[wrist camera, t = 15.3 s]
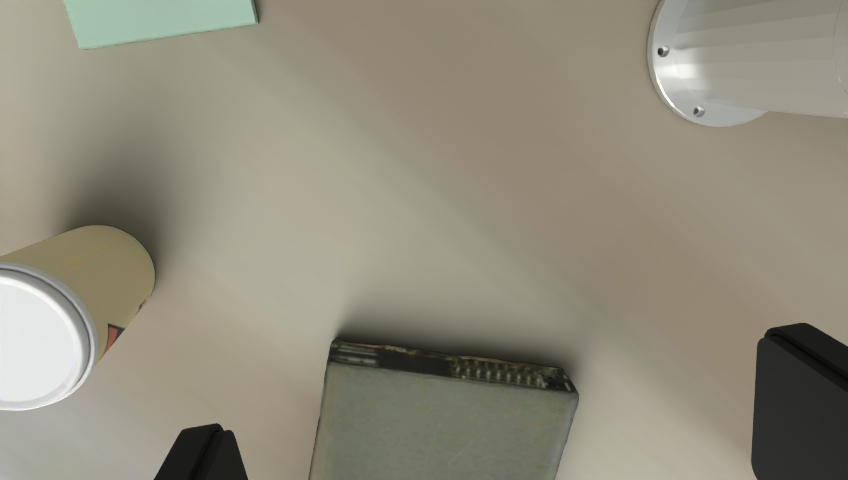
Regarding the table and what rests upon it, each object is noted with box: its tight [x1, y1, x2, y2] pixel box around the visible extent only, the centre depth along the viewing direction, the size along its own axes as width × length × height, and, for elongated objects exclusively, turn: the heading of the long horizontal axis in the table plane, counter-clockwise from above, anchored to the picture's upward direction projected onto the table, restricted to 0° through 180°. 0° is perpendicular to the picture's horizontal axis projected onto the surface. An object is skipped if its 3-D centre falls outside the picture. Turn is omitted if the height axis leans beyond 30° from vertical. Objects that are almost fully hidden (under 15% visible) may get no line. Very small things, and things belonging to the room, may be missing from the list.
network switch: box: [309, 338, 579, 480], centre depth 47 cm, size 23×24×5 cm
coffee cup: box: [0, 225, 155, 410], centre depth 36 cm, size 9×9×12 cm
